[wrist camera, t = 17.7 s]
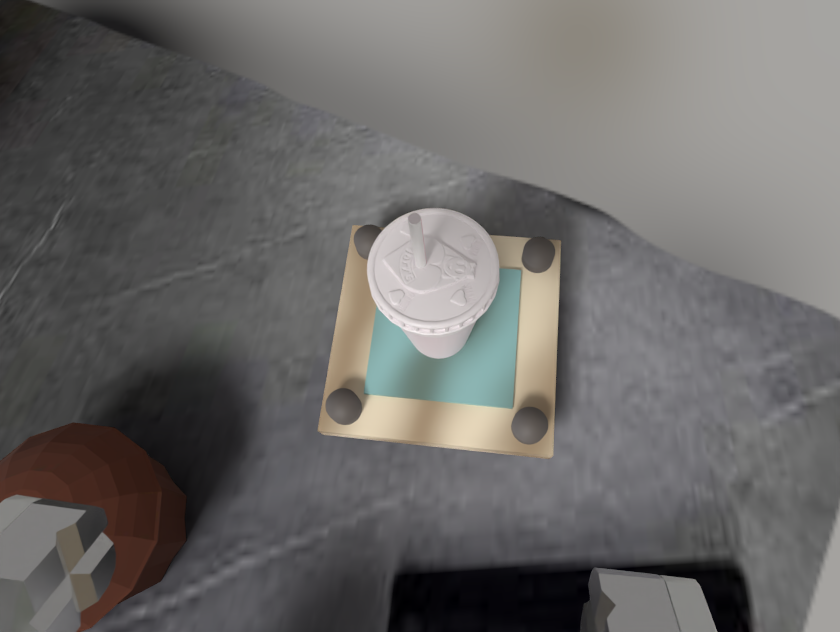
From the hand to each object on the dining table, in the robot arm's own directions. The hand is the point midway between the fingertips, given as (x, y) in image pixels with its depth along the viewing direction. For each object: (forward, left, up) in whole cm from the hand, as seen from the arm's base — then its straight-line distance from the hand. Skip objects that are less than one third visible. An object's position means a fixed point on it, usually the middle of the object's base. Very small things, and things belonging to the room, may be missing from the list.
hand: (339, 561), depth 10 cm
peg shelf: (0, +12, -29) cm, 32 cm away
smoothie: (0, +12, -25) cm, 28 cm away
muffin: (-20, -2, -30) cm, 36 cm away
